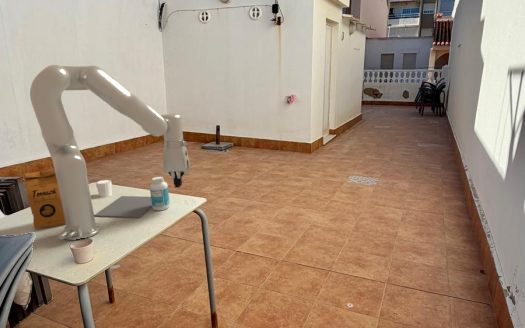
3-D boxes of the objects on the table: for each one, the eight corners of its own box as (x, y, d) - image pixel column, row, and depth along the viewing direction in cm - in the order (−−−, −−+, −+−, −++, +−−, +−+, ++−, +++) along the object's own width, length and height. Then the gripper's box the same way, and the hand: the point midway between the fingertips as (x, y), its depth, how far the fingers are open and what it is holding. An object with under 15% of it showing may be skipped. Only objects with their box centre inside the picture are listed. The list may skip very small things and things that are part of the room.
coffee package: (68, 226, 133) (58, 172, 127) (31, 232, 129) (18, 176, 123) (72, 216, 142) (62, 165, 136) (37, 221, 138) (25, 169, 132)
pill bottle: (165, 203, 154) (162, 174, 150) (173, 207, 148) (170, 178, 145) (149, 207, 149) (145, 178, 145) (156, 212, 144) (153, 182, 140)
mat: (139, 218, 139) (139, 216, 139) (94, 216, 141) (93, 215, 141) (161, 198, 160) (161, 197, 160) (121, 197, 162) (121, 196, 162)
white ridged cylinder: (102, 198, 161) (100, 184, 159) (95, 196, 165) (92, 182, 163) (116, 194, 166) (114, 180, 164) (108, 191, 170) (106, 178, 168)
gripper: (194, 142, 142) (198, 184, 147) (160, 142, 144) (165, 183, 149) (188, 146, 135) (192, 190, 140) (152, 146, 137) (157, 189, 142)
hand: (178, 186), depth 145 cm, fingers closed
